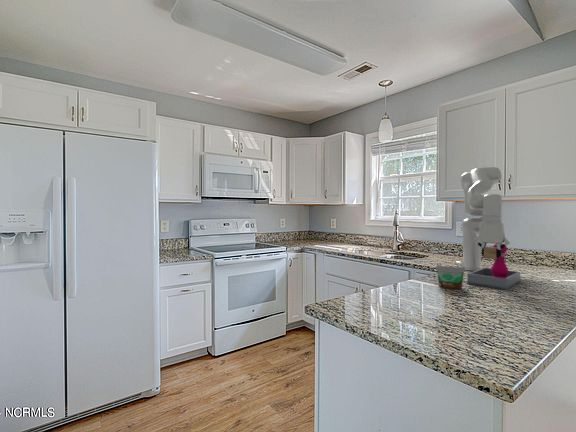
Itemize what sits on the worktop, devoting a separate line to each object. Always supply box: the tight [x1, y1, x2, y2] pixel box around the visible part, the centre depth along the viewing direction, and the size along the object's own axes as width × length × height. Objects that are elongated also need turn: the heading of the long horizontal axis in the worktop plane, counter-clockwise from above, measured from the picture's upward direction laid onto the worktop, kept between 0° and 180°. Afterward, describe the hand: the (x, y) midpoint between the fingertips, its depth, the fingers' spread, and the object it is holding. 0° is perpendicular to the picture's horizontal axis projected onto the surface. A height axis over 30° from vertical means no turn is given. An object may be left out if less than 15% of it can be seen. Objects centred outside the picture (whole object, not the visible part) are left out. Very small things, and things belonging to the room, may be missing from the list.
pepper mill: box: [490, 243, 509, 278], centre depth 156 cm, size 7×7×20 cm
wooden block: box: [483, 246, 497, 260], centre depth 148 cm, size 5×5×5 cm
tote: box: [466, 267, 521, 291], centre depth 152 cm, size 16×26×5 cm, turn 132°
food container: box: [435, 264, 467, 291], centre depth 140 cm, size 12×6×10 cm, turn 62°
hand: (491, 256), depth 148 cm, fingers closed on wooden block, 5 cm apart
